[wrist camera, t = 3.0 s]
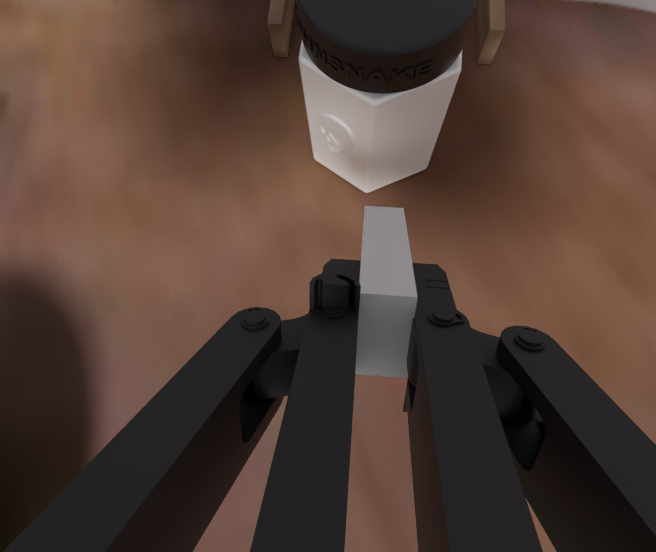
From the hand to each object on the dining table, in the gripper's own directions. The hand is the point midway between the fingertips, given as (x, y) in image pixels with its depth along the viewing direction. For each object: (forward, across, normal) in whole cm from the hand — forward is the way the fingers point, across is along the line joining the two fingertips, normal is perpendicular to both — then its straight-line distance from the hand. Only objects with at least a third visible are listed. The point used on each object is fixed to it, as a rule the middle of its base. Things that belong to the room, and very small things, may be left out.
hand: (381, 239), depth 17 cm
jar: (+15, -1, +1) cm, 15 cm away
